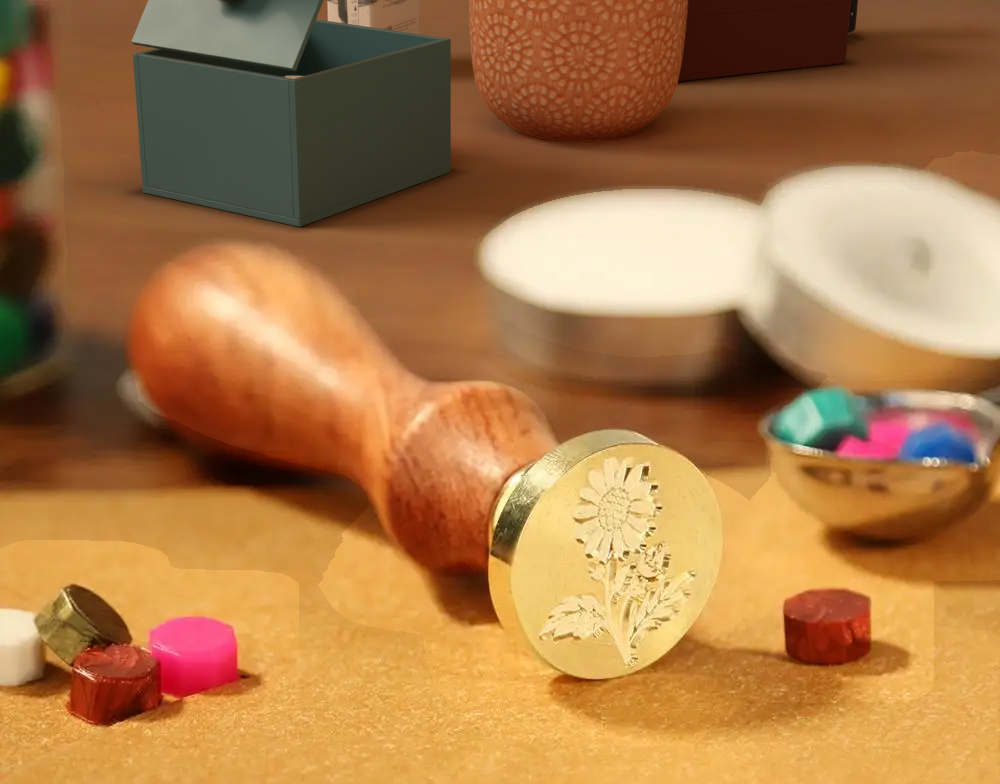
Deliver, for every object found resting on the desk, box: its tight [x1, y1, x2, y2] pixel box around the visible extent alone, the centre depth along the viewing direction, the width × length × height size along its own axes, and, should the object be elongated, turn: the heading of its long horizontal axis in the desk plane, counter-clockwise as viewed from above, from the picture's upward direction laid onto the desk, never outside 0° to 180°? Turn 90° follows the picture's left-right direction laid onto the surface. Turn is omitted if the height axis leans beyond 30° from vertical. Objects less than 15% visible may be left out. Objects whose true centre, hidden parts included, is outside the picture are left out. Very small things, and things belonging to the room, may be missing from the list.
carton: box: [132, 18, 452, 228], centre depth 127 cm, size 17×14×10 cm
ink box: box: [327, 0, 421, 34], centre depth 161 cm, size 9×5×12 cm, turn 153°
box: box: [678, 0, 851, 82], centre depth 168 cm, size 21×16×10 cm
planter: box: [468, 0, 688, 142], centre depth 141 cm, size 17×17×15 cm
